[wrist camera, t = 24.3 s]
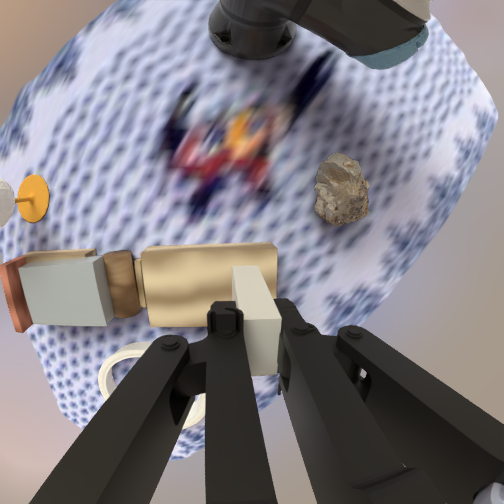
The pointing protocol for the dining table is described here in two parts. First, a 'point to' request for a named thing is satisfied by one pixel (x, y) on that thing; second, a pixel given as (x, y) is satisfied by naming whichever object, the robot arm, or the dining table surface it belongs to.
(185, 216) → the dining table surface
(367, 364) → the robot arm
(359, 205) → the rock
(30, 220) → the cup
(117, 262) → the roller
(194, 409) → the cream oval ring
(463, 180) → the dining table surface
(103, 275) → the slab
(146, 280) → the track
